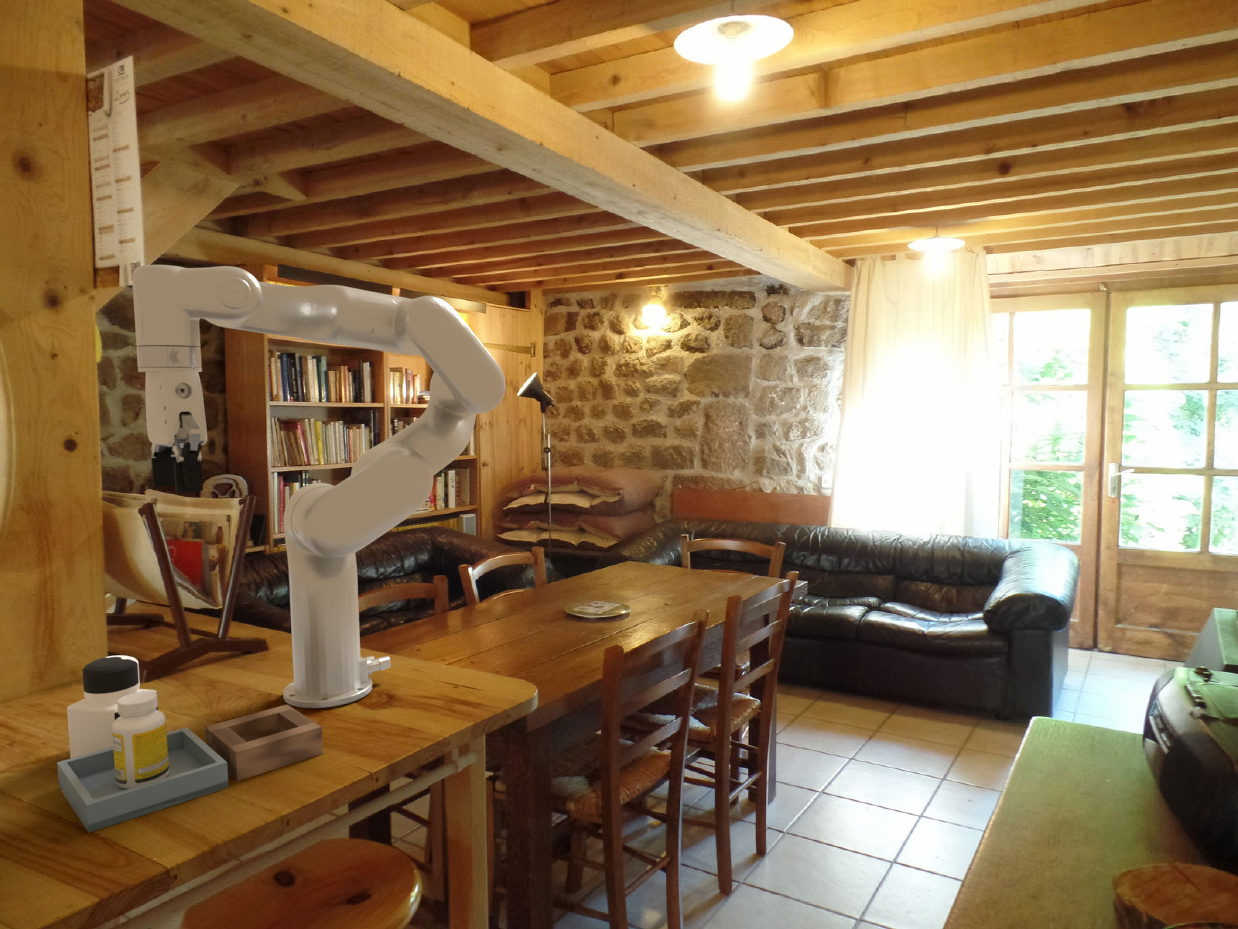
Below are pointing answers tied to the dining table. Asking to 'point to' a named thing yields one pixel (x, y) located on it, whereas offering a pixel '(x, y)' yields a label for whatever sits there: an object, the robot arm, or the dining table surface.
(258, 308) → the robot arm
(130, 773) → the supplement bottle
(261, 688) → the dining table surface
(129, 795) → the pin tray
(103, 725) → the medicine bottle
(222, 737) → the small brown open box
